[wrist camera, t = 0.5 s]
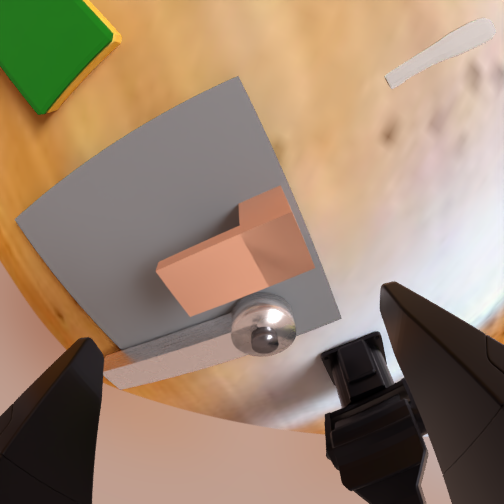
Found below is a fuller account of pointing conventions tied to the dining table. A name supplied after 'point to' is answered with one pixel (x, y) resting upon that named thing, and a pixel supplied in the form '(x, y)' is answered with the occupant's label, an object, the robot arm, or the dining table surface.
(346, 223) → the dining table surface
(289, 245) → the block
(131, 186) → the base plate
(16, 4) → the dish sponge
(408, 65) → the butter knife
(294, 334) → the lever
